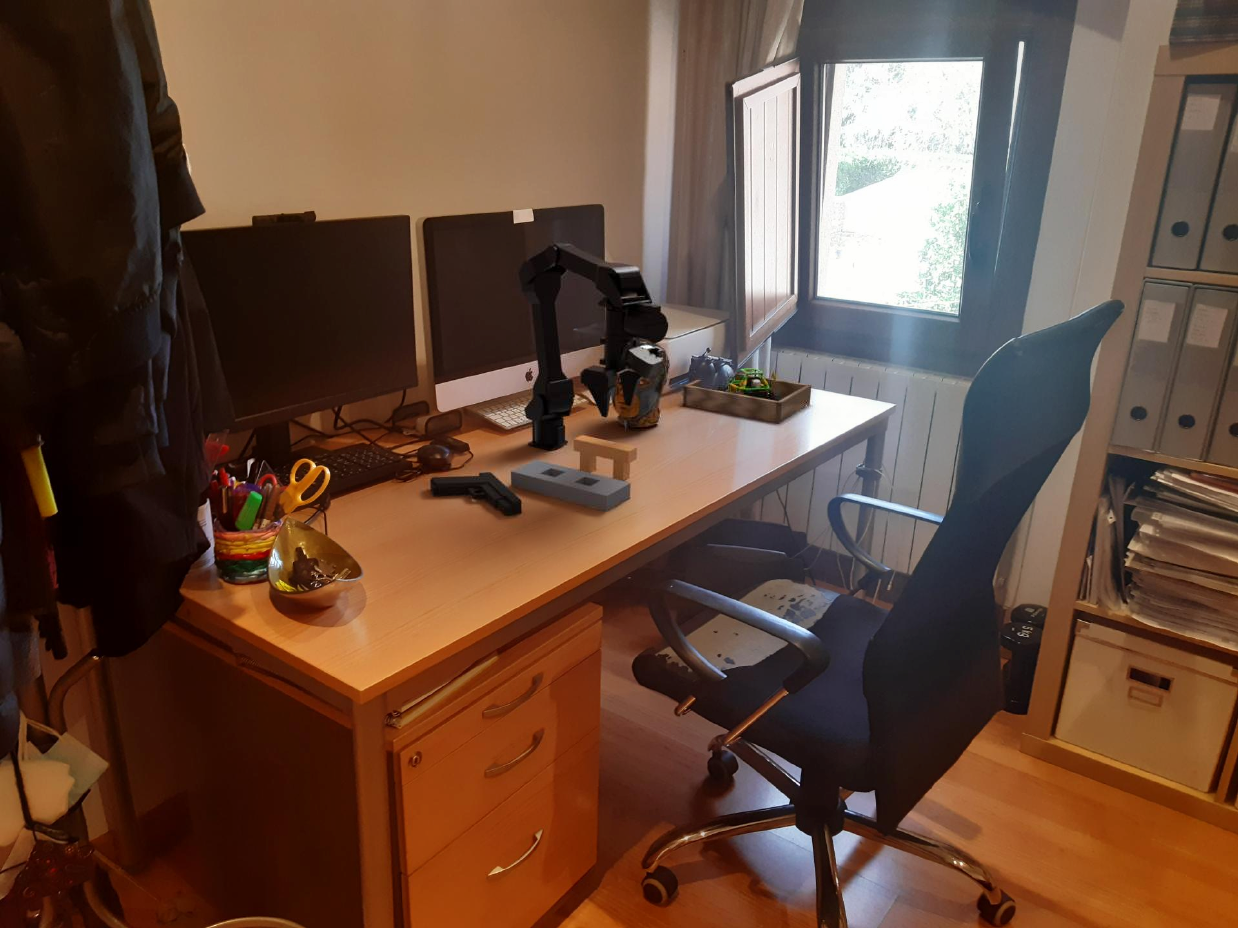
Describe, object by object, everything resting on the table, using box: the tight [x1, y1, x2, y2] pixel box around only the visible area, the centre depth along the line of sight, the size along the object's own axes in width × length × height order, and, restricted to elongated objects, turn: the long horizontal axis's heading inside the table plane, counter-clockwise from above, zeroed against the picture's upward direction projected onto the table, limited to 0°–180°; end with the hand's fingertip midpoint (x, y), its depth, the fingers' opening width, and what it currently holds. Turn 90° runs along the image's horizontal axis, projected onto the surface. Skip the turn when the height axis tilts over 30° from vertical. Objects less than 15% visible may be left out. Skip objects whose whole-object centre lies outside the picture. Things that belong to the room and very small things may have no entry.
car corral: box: [682, 372, 812, 424], centre depth 231 cm, size 26×20×5 cm
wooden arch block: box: [573, 434, 638, 482], centre depth 182 cm, size 13×3×6 cm, turn 58°
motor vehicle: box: [718, 367, 781, 406], centre depth 229 cm, size 12×19×11 cm, turn 13°
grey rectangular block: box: [510, 459, 631, 512], centre depth 173 cm, size 22×8×3 cm, turn 58°
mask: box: [610, 339, 671, 433], centre depth 211 cm, size 12×21×25 cm, turn 157°
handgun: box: [429, 471, 523, 516], centre depth 168 cm, size 3×19×12 cm
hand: (616, 411), depth 179 cm, fingers open, 9 cm apart
